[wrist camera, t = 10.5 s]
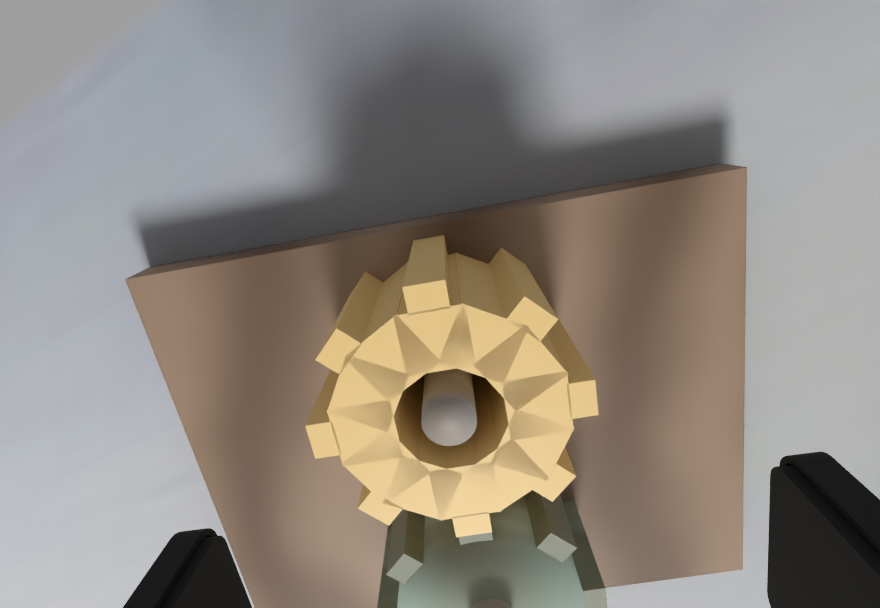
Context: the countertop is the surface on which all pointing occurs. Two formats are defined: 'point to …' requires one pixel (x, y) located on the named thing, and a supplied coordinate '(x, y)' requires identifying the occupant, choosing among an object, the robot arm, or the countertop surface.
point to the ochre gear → (443, 348)
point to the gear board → (453, 405)
